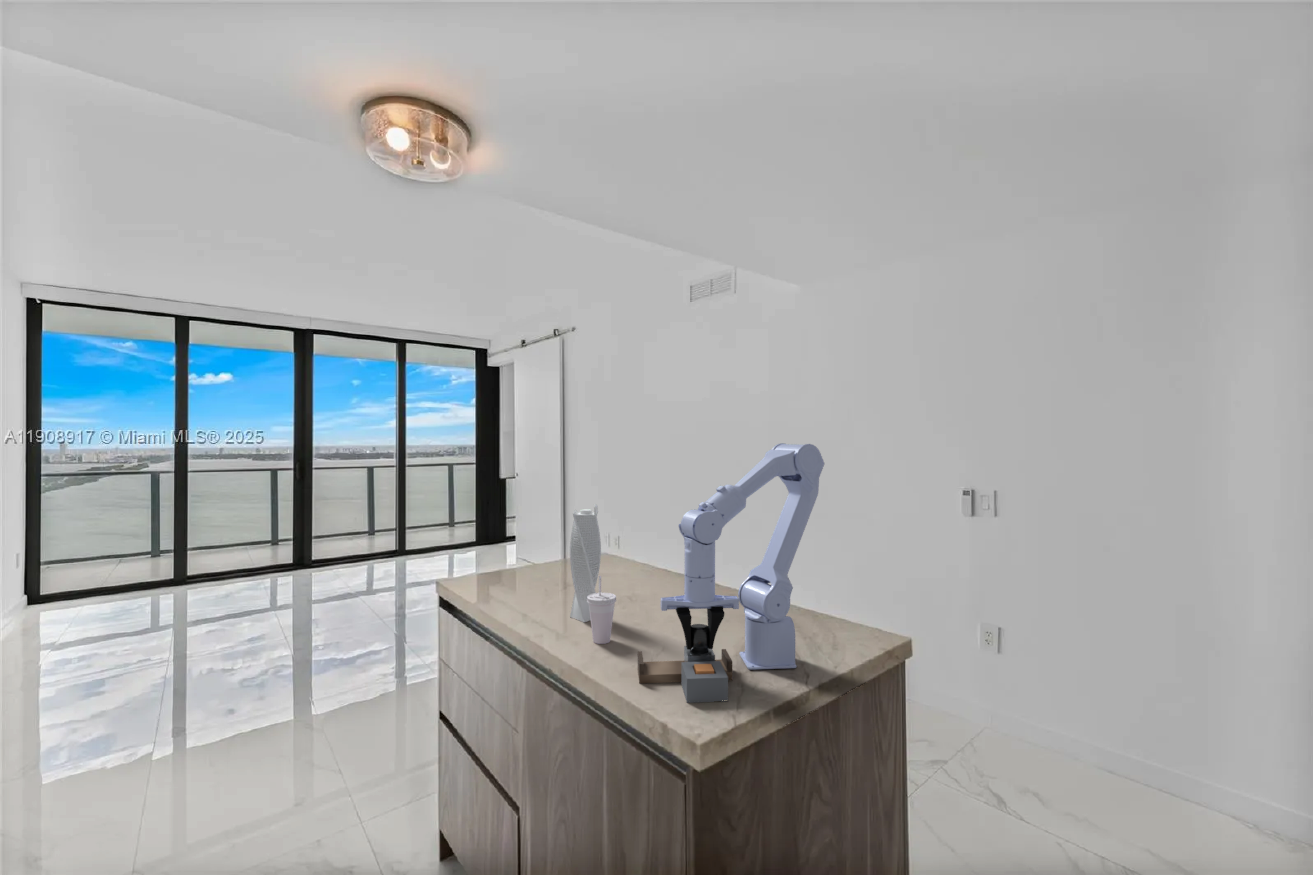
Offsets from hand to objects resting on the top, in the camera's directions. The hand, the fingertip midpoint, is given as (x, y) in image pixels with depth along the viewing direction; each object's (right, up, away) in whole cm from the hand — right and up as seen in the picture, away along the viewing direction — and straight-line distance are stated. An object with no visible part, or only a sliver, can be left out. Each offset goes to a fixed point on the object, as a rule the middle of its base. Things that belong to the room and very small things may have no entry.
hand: (699, 647), depth 107 cm
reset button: (0, -4, -8) cm, 9 cm away
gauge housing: (0, -5, -8) cm, 9 cm away
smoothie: (-20, -5, +17) cm, 27 cm away
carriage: (0, -3, 0) cm, 3 cm away
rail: (-3, -5, 0) cm, 6 cm away
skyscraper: (-25, -5, +33) cm, 42 cm away
